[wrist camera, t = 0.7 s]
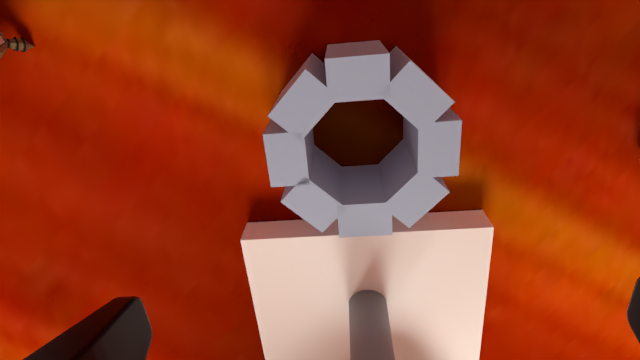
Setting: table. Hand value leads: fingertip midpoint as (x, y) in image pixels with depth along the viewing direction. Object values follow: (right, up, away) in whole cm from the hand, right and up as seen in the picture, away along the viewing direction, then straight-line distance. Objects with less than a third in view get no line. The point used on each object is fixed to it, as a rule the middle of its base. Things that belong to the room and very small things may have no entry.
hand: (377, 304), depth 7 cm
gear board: (+2, -7, +15) cm, 16 cm away
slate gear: (+1, +5, +9) cm, 11 cm away
